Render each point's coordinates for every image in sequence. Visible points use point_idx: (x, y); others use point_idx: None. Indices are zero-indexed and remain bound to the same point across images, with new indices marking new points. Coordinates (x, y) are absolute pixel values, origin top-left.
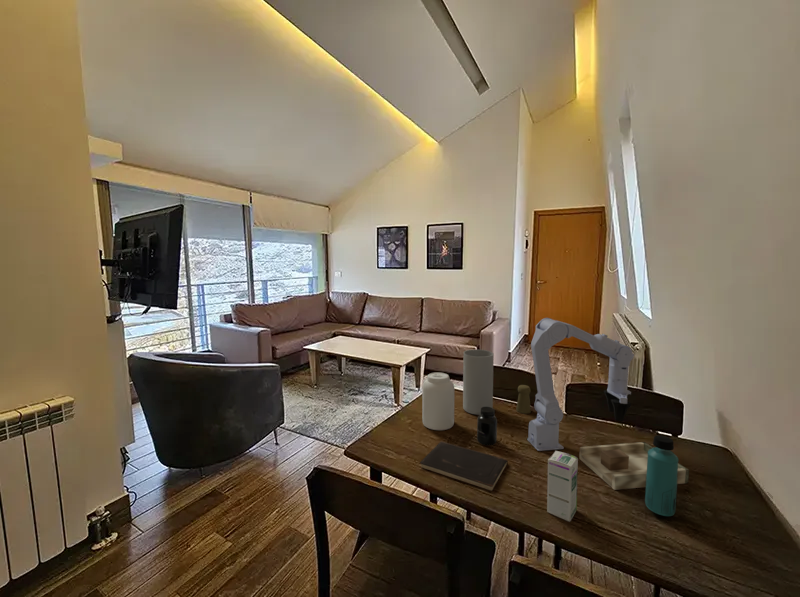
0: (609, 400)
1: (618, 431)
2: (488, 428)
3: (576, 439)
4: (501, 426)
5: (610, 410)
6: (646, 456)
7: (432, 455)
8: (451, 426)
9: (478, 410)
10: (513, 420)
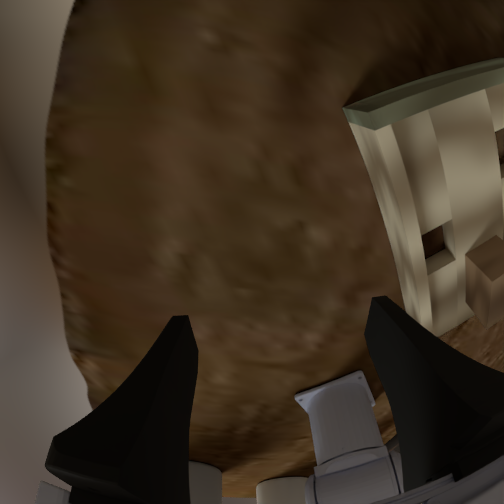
0: (184, 437)
1: (111, 182)
2: None
3: (280, 345)
4: (259, 450)
5: (195, 353)
6: (429, 133)
7: None
8: (297, 478)
9: (220, 478)
10: (211, 441)
